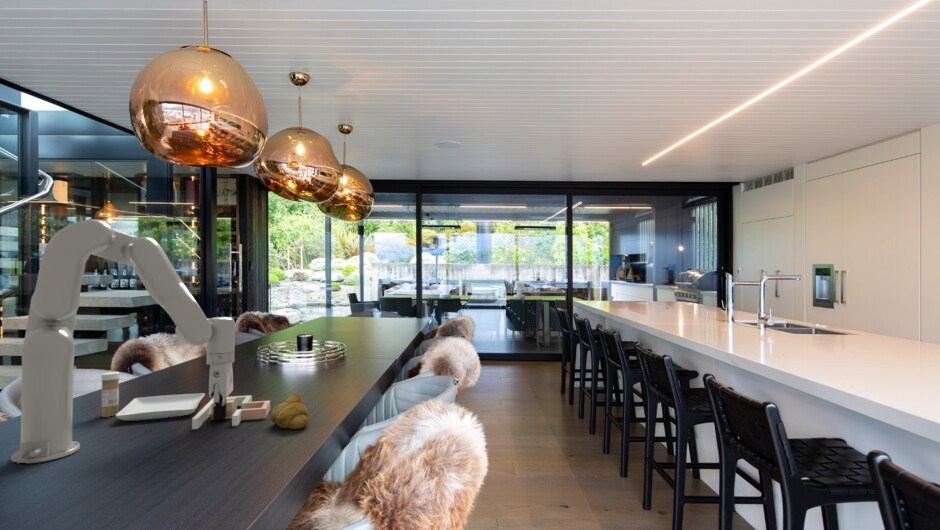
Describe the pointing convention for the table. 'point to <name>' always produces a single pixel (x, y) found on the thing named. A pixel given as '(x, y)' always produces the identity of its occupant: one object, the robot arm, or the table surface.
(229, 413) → the block
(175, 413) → the salad plate
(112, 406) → the sprinkles bottle
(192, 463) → the table surface
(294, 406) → the bread roll
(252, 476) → the table surface
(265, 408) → the pastel wall shelf
